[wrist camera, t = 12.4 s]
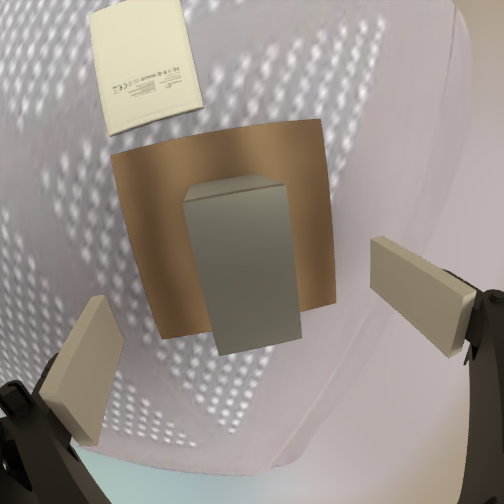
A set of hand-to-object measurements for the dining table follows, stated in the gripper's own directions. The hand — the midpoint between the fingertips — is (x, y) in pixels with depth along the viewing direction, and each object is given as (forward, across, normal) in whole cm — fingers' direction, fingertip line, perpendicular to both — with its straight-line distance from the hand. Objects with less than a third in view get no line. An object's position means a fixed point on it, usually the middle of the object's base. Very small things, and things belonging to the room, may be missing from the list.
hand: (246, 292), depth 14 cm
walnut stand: (+13, +1, 0) cm, 13 cm away
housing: (+10, +1, 0) cm, 10 cm away
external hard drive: (+14, -4, +16) cm, 22 cm away
